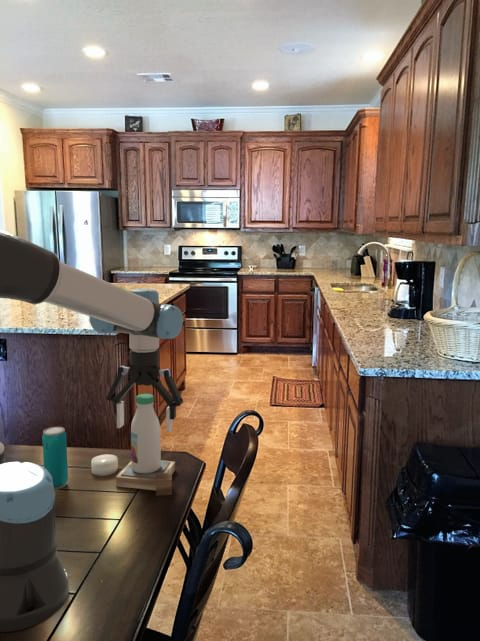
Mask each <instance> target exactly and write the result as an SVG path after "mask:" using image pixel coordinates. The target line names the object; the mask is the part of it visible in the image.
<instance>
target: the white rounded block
mask: <svg viewBox="0 0 480 641" xmlns="http://www.w3.org/2000/svg"><path fill="white" fill-rule="evenodd" d="M118 459H119V458H118V456H116V455H114V454H111V453H110V454H107V453H106V454H100V455H96V456H94V457H93V458H92V459H91V463H90V464H91V473H92V475H95V476H98V477H99V476H100V477H105V476H109V475H112V474H115V473H116V472H118V470H119V464H118V461H119V460H118Z"/></svg>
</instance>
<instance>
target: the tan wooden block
mask: <svg viewBox="0 0 480 641" xmlns="http://www.w3.org/2000/svg"><path fill="white" fill-rule="evenodd" d="M172 475H173V474H172V472H171V473H156V490H155V496H156V497H157V496H158V497H159V496H172V495H173V476H172Z"/></svg>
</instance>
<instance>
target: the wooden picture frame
mask: <svg viewBox="0 0 480 641" xmlns="http://www.w3.org/2000/svg"><path fill="white" fill-rule="evenodd" d="M175 471H176V461H171V460H161V466H160V468H159V469H158V470H157V471H155V472H152V473H147V474H141V473H136V472H134V471H133V470H132V465H131V461H129V462H128V464H126V466H124V468H123V469H122V470H121V471H119V473H118V474H117V475H115V486H116V487H120V488H121V487H122V488H130V489H131V488H133V489H139V490H140V489H141V490H149V491H156V473H171V472H172V475H173V474H174V472H175Z"/></svg>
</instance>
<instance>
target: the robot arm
mask: <svg viewBox="0 0 480 641" xmlns="http://www.w3.org/2000/svg"><path fill="white" fill-rule="evenodd" d="M159 295H160V294H159V292H158V291H157V290H155V289H148V288H137V289H136V288H135V289H131V290H127V289H126V288H123V287H121V286H118V285H115V284H113V283H111V282H108V281H106V280H104V279H102V278H99V277H97V276H95V275H92V274H89V273H88V272H85V271H83V270H80V269H78V268H76V267H73V266H71V265H69V264H66V263H64V262H62V261H61V260H60V258H59V256H58V255H57V254H56V253H55V252H54V251H52V250H50V249H49V250H48V249H47V248H44V247H42V246H39V245H38V244H36V243H33V242H31V241H29V240H27V239H25V238H23V237H20V236H18V235H15V234H13V233H11V232H9V231H6V230H3V229H0V299H1V298H2V299H9V300H16V301H20V302H24V303H28V304H31V305H40V304H42V303H46V304H50V305H53V306H57V307H60V308H62V309H65V310H69V311H72V312H75V313H78V314H81V315H85V316H87V317H89V324H90V326H91V328H92V329H93V330H94V331H95V332H96V333H98V334H108V335H109V334H112V333H121V334H129V338H128V339H129V345H128V346H129V347H128V348H129V349H130V351H129V366H128V367H127V366H126V365H125V364H123V365H120V366H119V367H117V375H116V377H115V379H114V381H113V383H112V385H111V387H110V389H109V391H108V394H107V396H106V400H107V401H110V402H112V403H113V414H114V415H116V428H117V429H121V428H122V427H123V426H125V411H124V410H125V407H124V406H125V401H124V400H123V401H122V399H123V398H124V397H125V395H126V394H127V393H128V392H129V391H130V390H131V388H133V386H135V385H137V386H142V385H143V386H148V387H149V386H152V388H153V389H155V390H156V392H157V393H158V394H159V396H160V397H161V398H162V399H163V401H164V402H165V403H166V404H167V407H166V410H165V412H166V415H165V417H166V419H165V420H166V422H165V423H166V424H165V426H166V428H165V429H166V432H165V433H168V434H169V433H170V432H172V430H173V421H174V420H175V419H176V417H177V407H180V406H181V405H182V404H183V403H184V400H183V397H182V395H181V393H180V391H179V389H178V387H177V385H176V382H175V380H174V378H173V375H172V369H171V368H170V367H168V368H166V369H161V368H160V350H158V349H159V348H160V339H161V340H163V339H167V340H168V339H169V340H171V339H175V338H177V337H178V336H179V334H180V333H181V331H182V329H183V323H184V316H183V313H182V311H181V309H180V308H179V307H178V306H175V305H171V304H168V303H165V304H164V303H160V298H159V297H160V296H159ZM127 374H129V376H130V377H131V378H130V380H128V382H127V383H126V385H124V387H122V388H121V390H120V391H119V388H120V386H121V384H122V382H123V380H124V378H125V376H126V375H127ZM160 375H161V377H162V378H163V380H164V382H165V384H166V386H167V388H166V387H165V386H164V385H163V383H162V380H161V379H160V378H159V377H160ZM168 390H169V391H168ZM118 391H119V393H118ZM55 502H56V492H55V490H54V486H53V480H52V477H51V475H50V473H49V472H48V471H47V470H46V469H45V468H44V466H42V465H40V464H37V463H34V462H30V461H24V462H20V461H10V462H9V461H8V462H6V454H5V445H4V444H3V443H2V442H1V441H0V632H1V633H6V632H7V633H8V632H16V631H21V630H25V629H28V628H32V627H34V626H35V625H38V624H40V623H43V622H44V621H45V620H47V619H49V618H51V617H52V616H53V615H54V614H55V613H57V612H58V611H59V610H60V609H61V608H62V607H63V606H64V604H65V602H66V601H67V599H68V597H69V591H70V587H69V585H70V584H69V583H70V582H69V575H68V573H67V571H66V569H65V567H64V565H63V562H62V560H61V557H60V554H59V553H58V550H57V531H56V528H57V527H56V503H55Z"/></svg>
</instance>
